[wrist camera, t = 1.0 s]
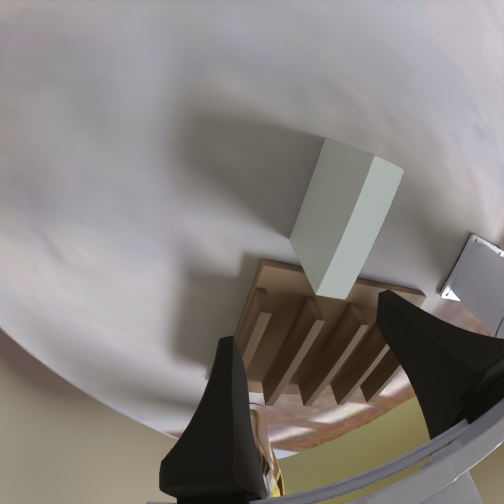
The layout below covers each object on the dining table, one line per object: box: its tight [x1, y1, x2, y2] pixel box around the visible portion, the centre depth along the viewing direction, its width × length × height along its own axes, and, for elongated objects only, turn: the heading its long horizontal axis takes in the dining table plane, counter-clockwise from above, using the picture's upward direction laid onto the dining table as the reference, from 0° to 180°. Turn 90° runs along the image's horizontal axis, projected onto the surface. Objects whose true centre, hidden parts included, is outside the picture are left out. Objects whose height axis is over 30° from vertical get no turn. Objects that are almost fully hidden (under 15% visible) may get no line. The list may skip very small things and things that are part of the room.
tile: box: [289, 138, 404, 299], centre depth 17 cm, size 2×8×7 cm, turn 163°
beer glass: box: [249, 404, 285, 499], centre depth 26 cm, size 7×7×15 cm
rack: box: [234, 259, 426, 406], centre depth 25 cm, size 18×16×4 cm
